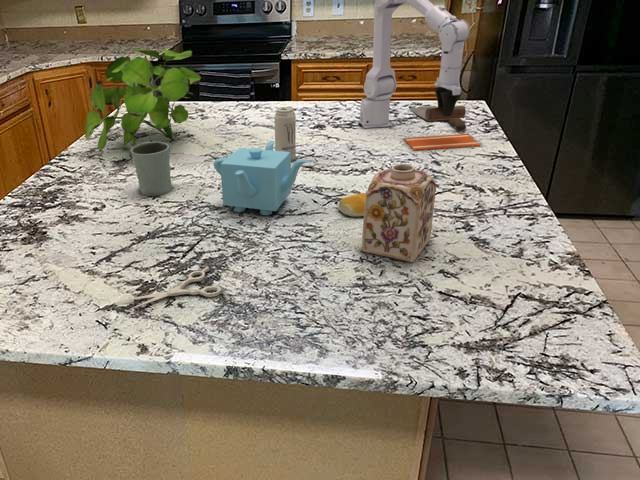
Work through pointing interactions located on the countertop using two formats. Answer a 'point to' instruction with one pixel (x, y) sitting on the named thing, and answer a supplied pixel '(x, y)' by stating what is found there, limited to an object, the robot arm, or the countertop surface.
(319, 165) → the countertop surface
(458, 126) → the cleaver
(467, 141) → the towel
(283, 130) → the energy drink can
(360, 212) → the bread roll
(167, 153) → the grey cup
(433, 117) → the rolling pin
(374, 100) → the robot arm
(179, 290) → the scissors
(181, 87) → the indoor plant
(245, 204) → the teakettle
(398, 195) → the decorative jar
